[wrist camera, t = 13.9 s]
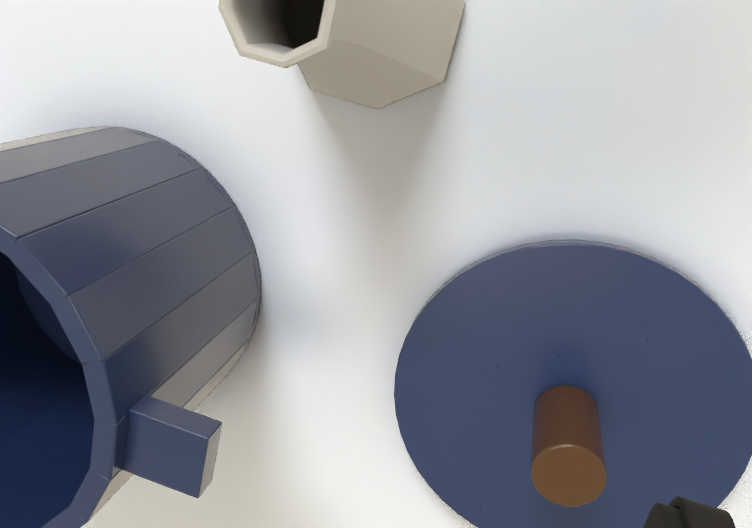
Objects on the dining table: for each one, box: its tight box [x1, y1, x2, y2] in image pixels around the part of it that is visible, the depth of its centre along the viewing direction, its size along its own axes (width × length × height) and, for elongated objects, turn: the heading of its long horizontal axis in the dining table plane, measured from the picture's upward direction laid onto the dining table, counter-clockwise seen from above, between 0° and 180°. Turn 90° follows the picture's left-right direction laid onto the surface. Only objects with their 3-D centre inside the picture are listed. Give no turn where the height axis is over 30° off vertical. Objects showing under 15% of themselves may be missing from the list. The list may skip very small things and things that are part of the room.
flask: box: [219, 0, 465, 109], centre depth 22 cm, size 7×7×10 cm
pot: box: [0, 126, 261, 528], centre depth 27 cm, size 14×19×12 cm
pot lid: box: [394, 240, 752, 528], centre depth 27 cm, size 15×15×6 cm
